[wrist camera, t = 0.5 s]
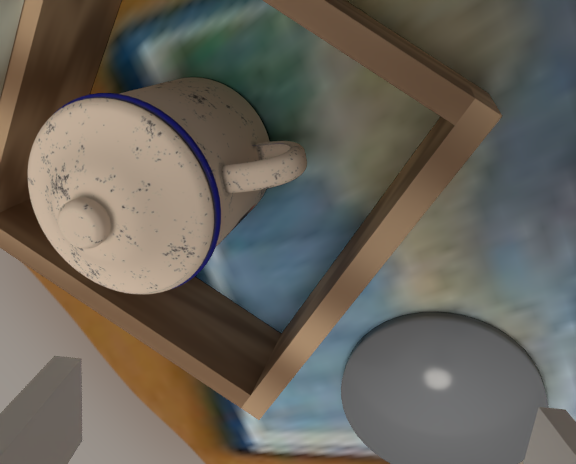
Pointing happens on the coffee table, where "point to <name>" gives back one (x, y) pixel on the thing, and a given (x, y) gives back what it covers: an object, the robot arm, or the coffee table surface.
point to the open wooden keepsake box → (195, 294)
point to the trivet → (442, 391)
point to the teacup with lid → (152, 180)
